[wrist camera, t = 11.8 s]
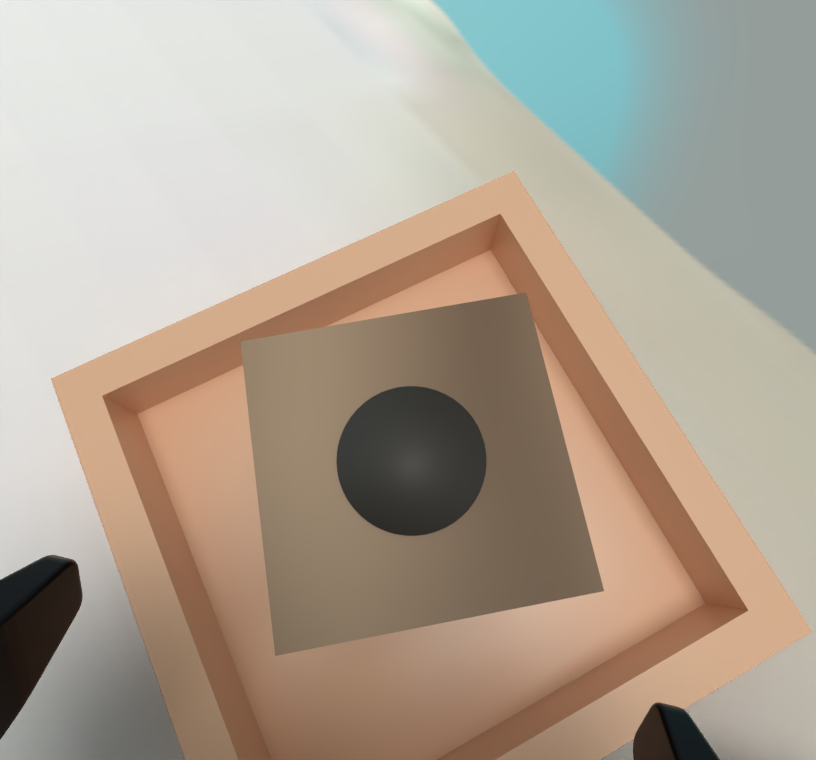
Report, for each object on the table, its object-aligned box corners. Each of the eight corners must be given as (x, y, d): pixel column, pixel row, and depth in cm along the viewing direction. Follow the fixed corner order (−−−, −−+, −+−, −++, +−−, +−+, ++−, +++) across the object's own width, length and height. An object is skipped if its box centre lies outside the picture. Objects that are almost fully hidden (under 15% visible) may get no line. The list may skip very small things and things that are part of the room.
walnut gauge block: (345, 602, 18) (274, 656, 9) (322, 444, 20) (239, 339, 10) (503, 572, 19) (604, 590, 9) (469, 418, 20) (527, 291, 10)
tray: (283, 895, 17) (257, 966, 14) (100, 403, 21) (50, 378, 18) (750, 619, 19) (812, 631, 16) (500, 219, 23) (514, 171, 20)
